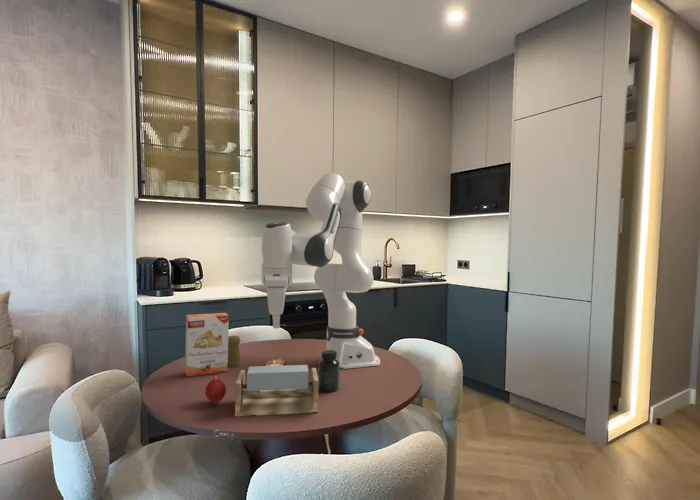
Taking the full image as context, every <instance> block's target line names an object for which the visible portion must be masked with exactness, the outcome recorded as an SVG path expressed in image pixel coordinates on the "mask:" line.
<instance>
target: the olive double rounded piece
mask: <svg viewBox="0 0 700 500" xmlns="http://www.w3.org/2000/svg"><path fill="white" fill-rule="evenodd" d="M240 344H241V338H240V336H238V335H228V368H237V367H240V366H241V365H242V361H241V354H240Z"/></svg>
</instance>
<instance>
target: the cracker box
mask: <svg viewBox="0 0 700 500" xmlns="http://www.w3.org/2000/svg"><path fill="white" fill-rule="evenodd" d="M185 317H186V318H185V362H184V363H185V364H184V365H185V366H184V368H185V369H184V371H185V375H186V377H195V376H202V375H203V376H205V375H212V374H220V373H227V372H228V368H229V367H228V337H229V328H230V327H229V323H230V322H229V321H230V317H229V314H228V313H227V312H218V313H216V312H215V313H199V314H197V313H196V314H186V315H185Z"/></svg>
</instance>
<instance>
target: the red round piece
mask: <svg viewBox="0 0 700 500" xmlns="http://www.w3.org/2000/svg"><path fill="white" fill-rule="evenodd" d="M226 392H227V388H226V384H225V383H224V381H223V380H222V379H220V378H218V376H213V379H212V380H210V381H209V382H208V383H207V385H206V386H205V389H204V394H205V398H206V399H207V400H209V401H210V402H212V404H214V405H215V404H216V405H217V404H218V403H219V402H220V401H222V400H223V399H224V397H225V396H226V394H227V393H226Z"/></svg>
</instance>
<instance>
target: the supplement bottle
mask: <svg viewBox="0 0 700 500" xmlns="http://www.w3.org/2000/svg"><path fill="white" fill-rule="evenodd" d="M336 358H337V352H336V351H333V350H323V351H322V352H321V359H320V360H319V361H318V371H317V372H318V374H317V376H318V391H321V392H324V393H334V392H337V391H338V390H339V388H340V369H341V368H340V364H339V361H338V360H337V359H336ZM336 390H337V391H336ZM333 391H334V392H333Z"/></svg>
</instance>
